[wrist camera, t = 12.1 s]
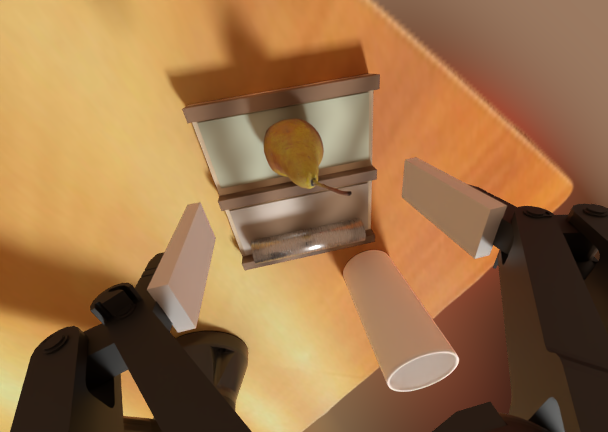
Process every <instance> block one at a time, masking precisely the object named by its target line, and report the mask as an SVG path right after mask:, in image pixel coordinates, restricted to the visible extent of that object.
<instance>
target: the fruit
mask: <svg viewBox="0 0 608 432" xmlns="http://www.w3.org/2000/svg"><path fill="white" fill-rule="evenodd" d="M264 153H265V157H266V159H267V162H268V164H269V166H270V168H271V169H272V170H273V171H274V172H275V173H277V174H279V175H281V176H285V177H289V179H290V180H291V181H292V182H293V183H295V184H296V185H298V186H300V187H302V188H307V189H311V188H313V187H315V185H316V186H320V187H323V188H326V189H328V190H330V191H332V192H335V193H337V194H340V195H345V196H350V195H351V194H352V192H351V191H341V190H338V189H335V188H332V187H329V186H326V185H324V184H321V183H319V182H318V174H319V167H318V166H319V165H320V163H321V161H322V158H323V153H324V148H323V142H322V139H321V137H320V135H319V133H318V132H317V130H316V129H315V128H314V127H313V126H312V125H311V124H309V123H308V122H307V121H305V120H302V119H297V118H293V119H285V120H281V121H279V122H277V123H275V124H273V125H272V126H270V127H269V128H268V130H267V131H266V134H265V137H264Z"/></svg>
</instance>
